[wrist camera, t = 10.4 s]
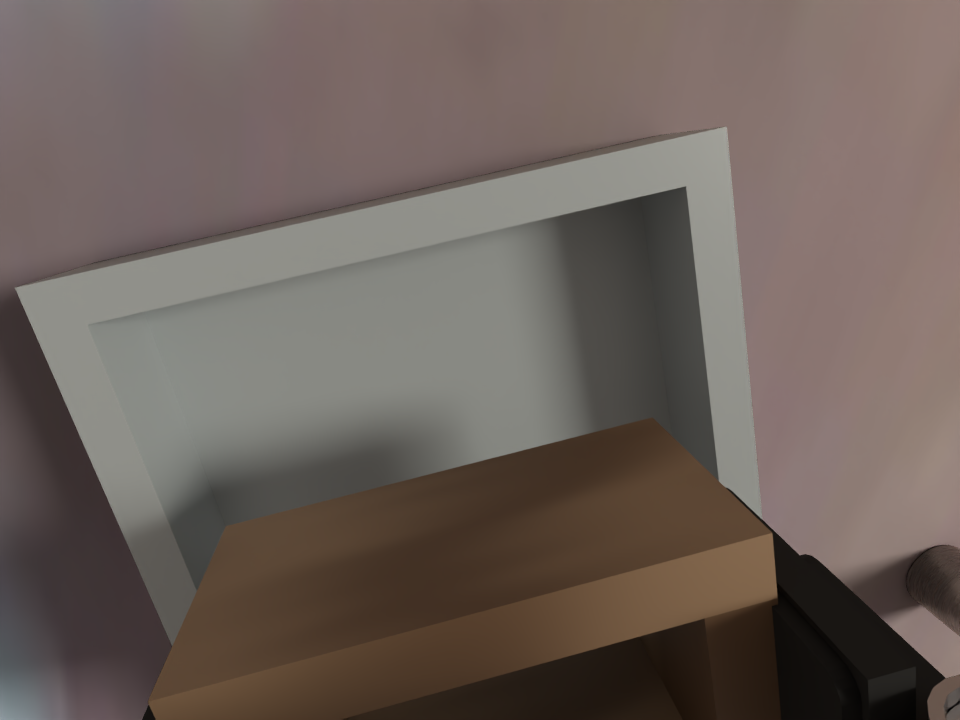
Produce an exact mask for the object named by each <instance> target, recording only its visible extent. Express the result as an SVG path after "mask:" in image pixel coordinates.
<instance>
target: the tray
mask: <svg viewBox="0 0 960 720" xmlns="http://www.w3.org/2000/svg"><path fill="white" fill-rule="evenodd" d="M15 289H16V291H17V294H18V296H19V298H20V300H21V303H22V305H23V307H24V310H25V312H26V314H27V316H28V319H29V321H30V323H31V326H32V328H33V330H34V332H35V335H36V337H37V339H38V342H39V344H40V346H41V348H42V351H43V353H44V355H45V358H46V360H47V362H48V364H49V367H50V369H51V371H52V374H53V376H54V378H55V380H56V383H57V385H58V387H59V389H60V392H61V394H62V396H63V399H64V401H65V403H66V405H67V408H68V410H69V412H70V415H71V417H72V419H73V421H74V424H75V426H76V428H77V431H78V433H79V435H80V437H81V440H82V442H83V444H84V447H85V449H86V451H87V453H88V456H89V458H90V460H91V463H92V465H93V467H94V469H95V472H96V474H97V476H98V478H99V481H100V483H101V485H102V488H103V490H104V492H105V494H106V497H107V499H108V501H109V504H110V506H111V508H112V510H113V513H114V515H115V517H116V520H117V522H118V524H119V526H120V529H121V531H122V533H123V536H124V538H125V540H126V542H127V545H128V547H129V549H130V551H131V554H132V556H133V558H134V561H135V563H136V565H137V567H138V570H139V572H140V574H141V577H142V579H143V581H144V583H145V586H146V588H147V590H148V593H149V595H150V597H151V599H152V602H153V604H154V606H155V609H156V611H157V613H158V615H159V618H160V620H161V622H162V625H163V627H164V629H165V631H166V634H167V636H168V638H169V640H170V643H171V645H172V646H173V644H174V641H175V639H176V637H177V635H178V632H179V630H180V628H181V626H182V624H183V621H184V619H185V617H186V615H187V612H188V610H189V608H190V606H191V603H192V601H193V599H194V597H195V594H196V592H197V590H198V588H199V585H200V583H201V581H202V579H203V576H204V574H205V572H206V570H207V567H208V565H209V563H210V561H211V558H212V556H213V554H214V552H215V549H216V547H217V545H218V543H219V540H220V538H221V536H222V534H223V531H224V529H225V527H226V526H228V525H232V524H236V523H240V522H244V521H248V520H252V519H256V518H260V517H264V516H267V515H271V514H275V513H279V512H283V511H287V510H291V509H295V508H299V507H303V506H307V505H311V504H315V503H318V502H322V501H326V500H330V499H334V498H338V497H342V496H346V495H350V494H354V493H358V492H362V491H365V490H369V489H373V488H377V487H381V486H385V485H389V484H393V483H397V482H401V481H405V480H409V479H413V478H416V477H420V476H424V475H428V474H432V473H436V472H440V471H444V470H448V469H452V468H456V467H460V466H463V465H467V464H471V463H475V462H479V461H483V460H487V459H491V458H495V457H499V456H503V455H507V454H511V453H514V452H518V451H522V450H526V449H530V448H534V447H538V446H542V445H546V444H550V443H554V442H558V441H561V440H565V439H569V438H573V437H577V436H581V435H585V434H589V433H593V432H597V431H601V430H605V429H609V428H612V427H616V426H620V425H624V424H628V423H632V422H636V421H640V420H644V419H648V418H652V417H653V418H654V419H655V420H656V421H657V422H658V423H659V424H660V425H661V426H662V427H663V428H664V429H665V430H666V431H667V432H668V433H669V434H670V435H671V436H672V437H673V438H675V439H676V440H677V441H678V442H679V443H680V444H681V445H682V446H683V447H684V448H685V449H686V450H687V451H688V452H689V453H690V454H691V455H692V456H693V457H694V458H695V459H696V460H697V461H698V462H699V463H700V464H701V465H703V466H704V467H705V468H706V469H707V470H708V471H709V472H710V473H711V474H712V475H713V476H714V477H715V478H716V479H717V480H718V481H719V482H720V483H721V484H722V485H723V486H724V487H725V488H729V489H730V490H732V491H733V492H734V493H735V494H736V495H737V496H738V497H739V498H740V499H741V500H742V501H743V502H744V503H745V504H746V505H747V506H748V507H749V508H751V509H752V510H753V511H754V512H755V513H756V514H757V515H758V516H759V517H760V518H761V519H762V511H761V500H760V489H759V478H758V467H757V455H756V444H755V433H754V422H753V411H752V400H751V389H750V378H749V367H748V356H747V345H746V334H745V323H744V312H743V301H742V290H741V279H740V268H739V257H738V246H737V234H736V223H735V212H734V201H733V190H732V179H731V168H730V157H729V146H728V135H727V127H719V128H711V129H703V130H695V131H687V132H680V133H672V134H664V135H658V136H653V137H649V138H645V139H640V140H636V141H631V142H627V143H622V144H618V145H614V146H609V147H605V148H600V149H596V150H591V151H587V152H583V153H578V154H574V155H569V156H565V157H560V158H556V159H552V160H547V161H543V162H538V163H534V164H529V165H525V166H521V167H516V168H512V169H507V170H503V171H498V172H494V173H490V174H485V175H481V176H476V177H472V178H467V179H463V180H459V181H454V182H450V183H445V184H441V185H436V186H432V187H428V188H423V189H419V190H414V191H410V192H405V193H401V194H397V195H392V196H388V197H383V198H379V199H374V200H370V201H366V202H361V203H357V204H352V205H348V206H344V207H339V208H335V209H330V210H326V211H321V212H317V213H313V214H308V215H304V216H299V217H295V218H290V219H286V220H282V221H277V222H273V223H268V224H264V225H259V226H255V227H251V228H246V229H242V230H237V231H233V232H228V233H224V234H220V235H215V236H211V237H206V238H202V239H197V240H193V241H189V242H184V243H180V244H175V245H171V246H166V247H162V248H158V249H153V250H149V251H144V252H140V253H135V254H131V255H127V256H122V257H118V258H113V259H109V260H104V261H100V262H96V263H92V264H89V265H86V266H82V267H79V268H76V269H73V270H70V271H67V272H63V273H60V274H57V275H54V276H51V277H48V278H44V279H41V280H38V281H35V282H32V283H29V284H25V285H22V286H19V287H16V288H15Z"/></svg>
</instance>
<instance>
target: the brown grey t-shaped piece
mask: <svg viewBox="0 0 960 720" xmlns="http://www.w3.org/2000/svg"><path fill="white" fill-rule="evenodd" d="M907 589H908V592H909V594H910V595H911V596H912V597H913V598H914V599H915V600H916V601H917V602H919V603H920V604H921V605H922V606H923V607H925V608H926V609H927V610H928V611H929V612H931V613H932V614H933V615H934V616H936V617H937V618H938V619H939V620H940V621H942V622H943V623H944V624H945V625H946V626H948V627H949V628H950V629H951V630H952V631H954V632H955V633H956V634H957V635H959V636H960V549H959V548H957V547H954V546H950V545H943V546H938V547H935V548H932V549H930V550H928V551H926V552H925V553H923V554H922V555H921V556H920V557H919V558H918V559H917V560H916V561H915V562H914V563H913V565H912V566H911V568H910V570H909V573H908V576H907Z"/></svg>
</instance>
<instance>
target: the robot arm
mask: <svg viewBox="0 0 960 720" xmlns="http://www.w3.org/2000/svg"><path fill="white" fill-rule="evenodd" d="M726 489H727V490H728V491H729V492H731V493H732V494H733V495H734V496H735V497H736V498H737V499H738V500H739V501H740V502H741V503H742V504H743V505H744V506H745V507H746V508H747V509H748V510H749V511H750V512H751V513H752V514H753V515H754V516H755V517H756V518H757V519H759V520H760V521H761V522H762V523H763V524H764V525H765V526H766V527H767V528H768V529H769V530H770V531H771V532H772V534H773V546H774V559H775V571H776V584H777V597H778V605H774V606H772V615H773V627H774V639H775V651H776V663H777V675H778V687H779V699H780V711H781V720H960V674H959V675H956V676H952V677H949V678H945V677H944V676H943V675H942V674H941V673H940V672H938V671H937V670H936V669H935V668H934V667H933V666H932V665H931V664H930V663H929V662H928V661H927V660H926V659H924V658H923V657H922V656H921V655H920V654H919V653H918V652H917V651H916V650H915V649H914V648H913V647H911V646H910V645H909V644H908V643H907V642H906V641H905V640H904V639H903V638H902V637H901V636H900V635H898V634H897V633H896V632H895V631H894V630H893V629H892V628H891V627H890V626H889V625H888V624H887V623H885V622H884V621H883V620H882V619H881V618H880V617H879V616H878V615H877V614H876V613H875V612H874V611H873V610H871V609H870V608H869V607H868V606H867V605H866V604H865V603H864V602H863V601H862V600H861V599H860V598H858V597H857V596H856V595H855V594H854V593H853V592H852V591H851V590H850V589H849V588H848V587H847V586H845V585H844V584H843V583H842V582H841V581H840V580H839V579H838V578H837V577H836V576H835V575H834V574H832V573H831V572H830V571H829V570H828V569H827V568H826V567H825V566H824V565H823V564H822V563H821V562H819V561H818V560H817V559H815V558H814V557H813V556H810V555H806V554H804V555H799V554H798V553H797V552H796V551H795V550H793V549H792V548H791V547H790V546H789V545H788V544H787V543H786V542H785V541H784V540H783V539H782V538H781V537H780V536H779V535H778V534H777V533H776V532H775V531H774V530H773V529H771V528H770V527H769V526H768V525H767V524H766V523H765V522H764V521H763V520H762V519H761V518H760V517H759V516H758V515H757V514H756V513H755V512H754V511H753V510H752V509H751V508H749V507H748V506H747V505H746V504H745V503H744V502H743V501H742V500H741V499H740V498H739V497H738V496H737V495H736V494H735V493H734V492H733V491H732V490H730V489H729V488H726ZM142 720H156V719H155V717H154V714H153V712H152V710H151V708H150V706H149V705H148V708H147V710H146V712H145V714H144V717H143V719H142Z"/></svg>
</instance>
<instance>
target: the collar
mask: <svg viewBox="0 0 960 720" xmlns="http://www.w3.org/2000/svg"><path fill="white" fill-rule="evenodd" d="M774 605H778V597H777V584H776V571H775V559H774V546H773V534H772V532H771V531H770V530H769V529H768V528H767V527H766V526H765V525H764V524H763V523H762V522H761V521H760V520H759V519H757V518H756V517H755V516H754V515H753V514H752V513H751V512H750V511H749V510H748V509H747V508H746V507H745V506H744V505H743V504H742V503H741V502H740V501H739V500H738V499H737V498H736V497H735V496H734V495H733V494H732V493H731V492H729V491H728V490H727V489H726V488H725V487H724V486H723V485H722V484H721V483H720V482H719V481H718V480H717V479H716V478H715V477H714V476H713V475H712V474H711V473H710V472H709V471H708V470H707V469H706V468H705V467H704V466H703V465H701V464H700V463H699V462H698V461H697V460H696V459H695V458H694V457H693V456H692V455H691V454H690V453H689V452H688V451H687V450H686V449H685V448H684V447H683V446H682V445H681V444H680V443H679V442H678V441H677V440H676V439H675V438H673V437H672V436H671V435H670V434H669V433H668V432H667V431H666V430H665V429H664V428H663V427H662V426H661V425H660V424H659V423H658V422H657V421H656V420H655V419H654V418H653V417H652V418H648V419H644V420H640V421H636V422H632V423H628V424H624V425H620V426H616V427H612V428H609V429H605V430H601V431H597V432H593V433H589V434H585V435H581V436H577V437H573V438H569V439H565V440H561V441H558V442H554V443H550V444H546V445H542V446H538V447H534V448H530V449H526V450H522V451H518V452H514V453H511V454H507V455H503V456H499V457H495V458H491V459H487V460H483V461H479V462H475V463H471V464H467V465H463V466H460V467H456V468H452V469H448V470H444V471H440V472H436V473H432V474H428V475H424V476H420V477H416V478H413V479H409V480H405V481H401V482H397V483H393V484H389V485H385V486H381V487H377V488H373V489H369V490H365V491H362V492H358V493H354V494H350V495H346V496H342V497H338V498H334V499H330V500H326V501H322V502H318V503H315V504H311V505H307V506H303V507H299V508H295V509H291V510H287V511H283V512H279V513H275V514H271V515H267V516H264V517H260V518H256V519H252V520H248V521H244V522H240V523H236V524H232V525H228V526H226V527H225V529H224V531H223V534H222V536H221V538H220V540H219V543H218V545H217V547H216V549H215V552H214V554H213V556H212V558H211V561H210V563H209V565H208V567H207V570H206V572H205V574H204V576H203V579H202V581H201V583H200V585H199V588H198V590H197V592H196V594H195V597H194V599H193V601H192V603H191V606H190V608H189V610H188V612H187V615H186V617H185V619H184V621H183V624H182V626H181V628H180V630H179V632H178V635H177V637H176V639H175V641H174V644H173V646H172V648H171V650H170V653H169V655H168V657H167V659H166V662H165V664H164V666H163V668H162V671H161V673H160V675H159V677H158V680H157V682H156V684H155V686H154V689H153V691H152V693H151V695H150V698H149V700H148V704H149V706H150V708H151V710H152V712H153V714H154V717H155V719H156V720H781V711H780V699H779V687H778V675H777V663H776V651H775V639H774V627H773V615H772V606H774Z"/></svg>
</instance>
